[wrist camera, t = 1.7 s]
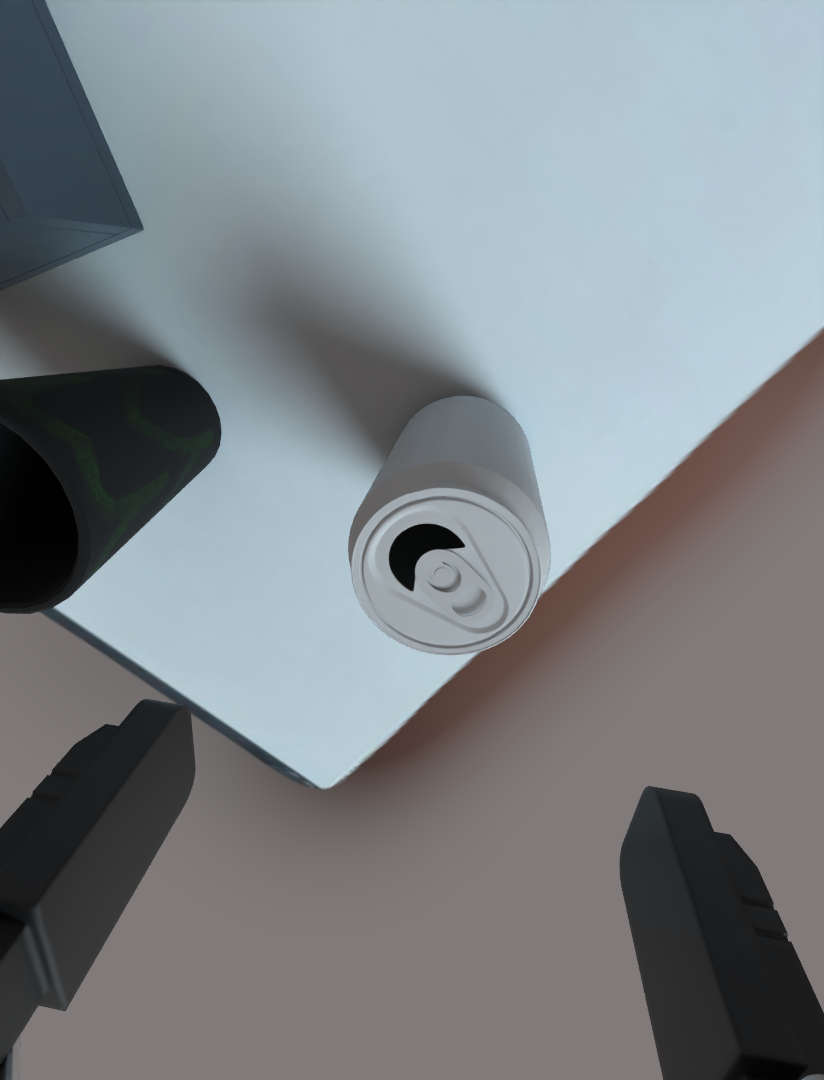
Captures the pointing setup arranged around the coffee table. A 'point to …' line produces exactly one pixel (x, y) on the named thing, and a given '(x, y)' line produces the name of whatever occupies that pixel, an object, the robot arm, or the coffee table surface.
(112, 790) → the robot arm
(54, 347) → the coffee table surface
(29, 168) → the open box
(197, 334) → the coffee table surface
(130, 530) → the cup
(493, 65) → the coffee table surface
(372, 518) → the beverage can
